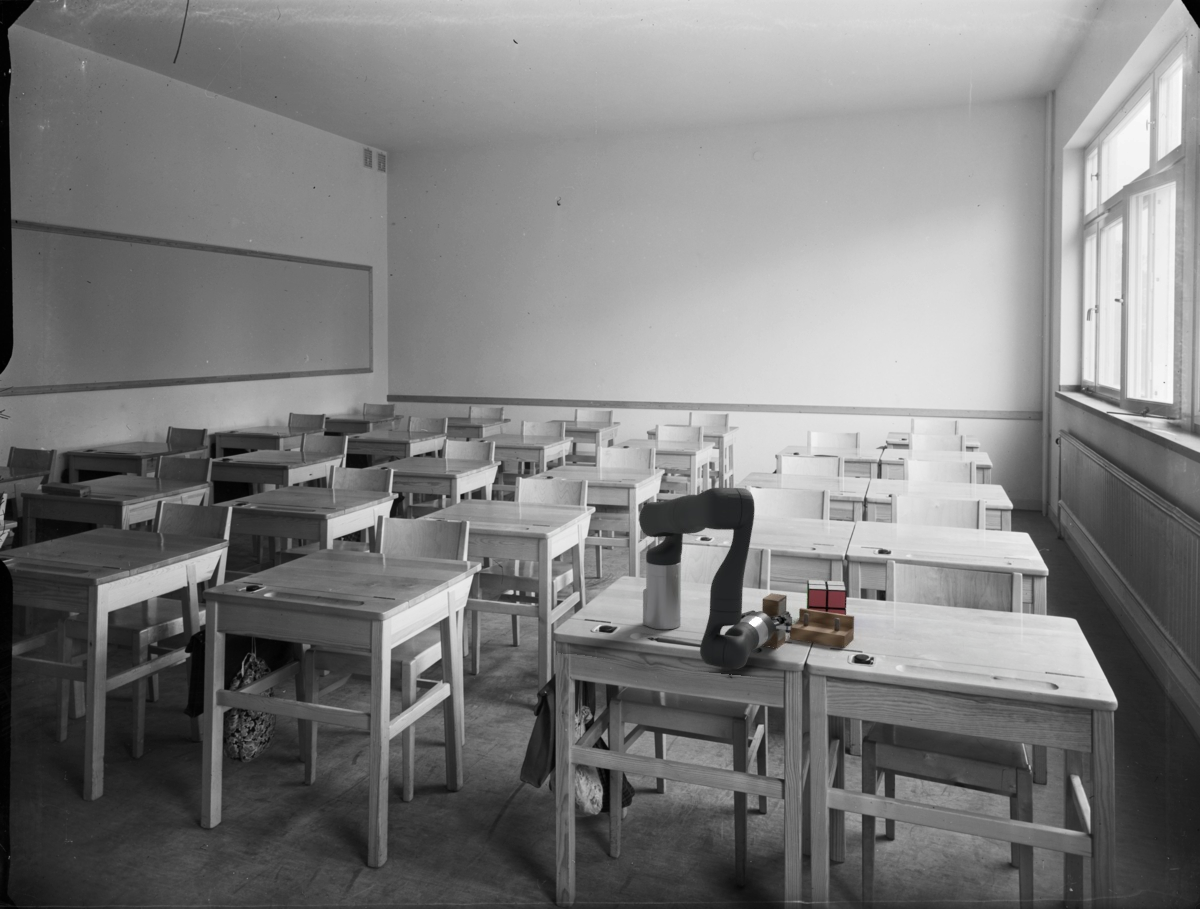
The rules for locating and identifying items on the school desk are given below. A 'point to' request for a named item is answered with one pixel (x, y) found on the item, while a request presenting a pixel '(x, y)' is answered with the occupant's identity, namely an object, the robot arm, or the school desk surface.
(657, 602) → the robot arm
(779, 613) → the wooden blocks
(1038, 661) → the school desk surface
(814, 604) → the puzzle cube
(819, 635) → the wooden peg holder
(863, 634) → the school desk surface
